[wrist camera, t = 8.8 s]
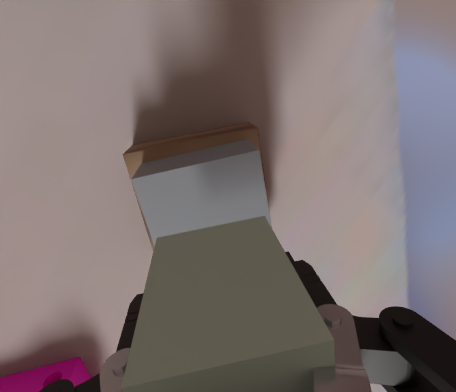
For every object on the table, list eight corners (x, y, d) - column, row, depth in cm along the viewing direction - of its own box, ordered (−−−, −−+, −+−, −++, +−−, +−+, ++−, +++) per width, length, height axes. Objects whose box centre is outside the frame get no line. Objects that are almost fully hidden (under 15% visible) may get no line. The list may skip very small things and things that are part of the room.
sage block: (156, 237, 13) (121, 388, 7) (264, 215, 13) (334, 339, 7) (181, 321, 15) (173, 503, 8) (275, 300, 15) (339, 462, 9)
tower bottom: (133, 144, 25) (122, 154, 21) (247, 121, 25) (257, 128, 21) (163, 244, 28) (158, 268, 24) (262, 223, 29) (273, 243, 25)
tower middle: (141, 163, 21) (131, 179, 17) (247, 139, 21) (259, 150, 18) (171, 254, 24) (167, 284, 20) (263, 231, 24) (276, 257, 21)
